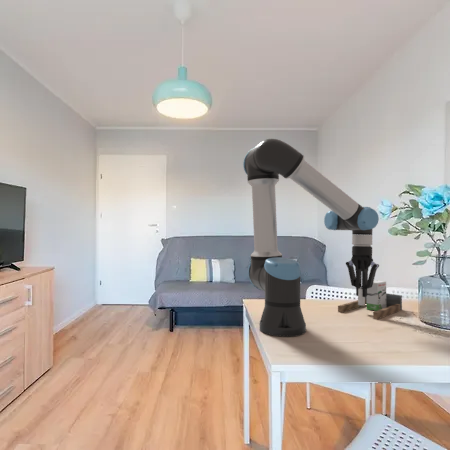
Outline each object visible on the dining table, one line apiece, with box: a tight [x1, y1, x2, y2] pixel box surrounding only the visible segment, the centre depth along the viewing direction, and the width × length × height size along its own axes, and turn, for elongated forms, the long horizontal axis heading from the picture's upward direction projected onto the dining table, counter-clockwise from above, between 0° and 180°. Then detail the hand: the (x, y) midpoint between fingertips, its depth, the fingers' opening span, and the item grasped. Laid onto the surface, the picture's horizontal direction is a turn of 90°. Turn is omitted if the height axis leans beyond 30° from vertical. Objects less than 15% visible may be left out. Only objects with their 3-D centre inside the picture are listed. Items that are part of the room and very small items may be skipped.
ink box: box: [366, 279, 387, 312], centre depth 142 cm, size 9×5×12 cm, turn 130°
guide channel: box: [337, 292, 403, 320], centre depth 139 cm, size 24×16×6 cm
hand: (361, 304), depth 134 cm, fingers closed
